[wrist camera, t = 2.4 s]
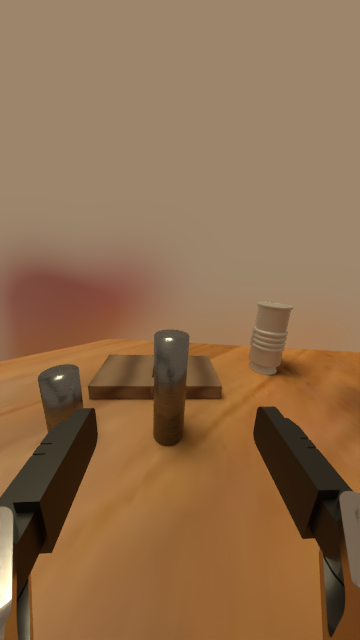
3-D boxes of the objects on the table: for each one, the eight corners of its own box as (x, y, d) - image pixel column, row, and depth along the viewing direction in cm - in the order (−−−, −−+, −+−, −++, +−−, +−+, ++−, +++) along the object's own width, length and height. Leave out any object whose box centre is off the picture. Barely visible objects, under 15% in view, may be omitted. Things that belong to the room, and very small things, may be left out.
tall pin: (152, 446, 23) (152, 341, 19) (154, 420, 26) (155, 329, 23) (184, 445, 23) (191, 342, 19) (181, 420, 27) (187, 330, 23)
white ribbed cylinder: (245, 358, 46) (254, 300, 42) (274, 362, 45) (287, 303, 41) (248, 372, 40) (259, 306, 36) (283, 378, 38) (298, 309, 34)
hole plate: (89, 399, 30) (88, 386, 29) (110, 364, 40) (109, 354, 40) (220, 398, 31) (221, 386, 31) (207, 365, 42) (208, 356, 41)
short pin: (42, 448, 22) (28, 383, 19) (61, 421, 25) (52, 364, 23) (77, 448, 22) (67, 383, 19) (90, 421, 26) (84, 364, 23)
